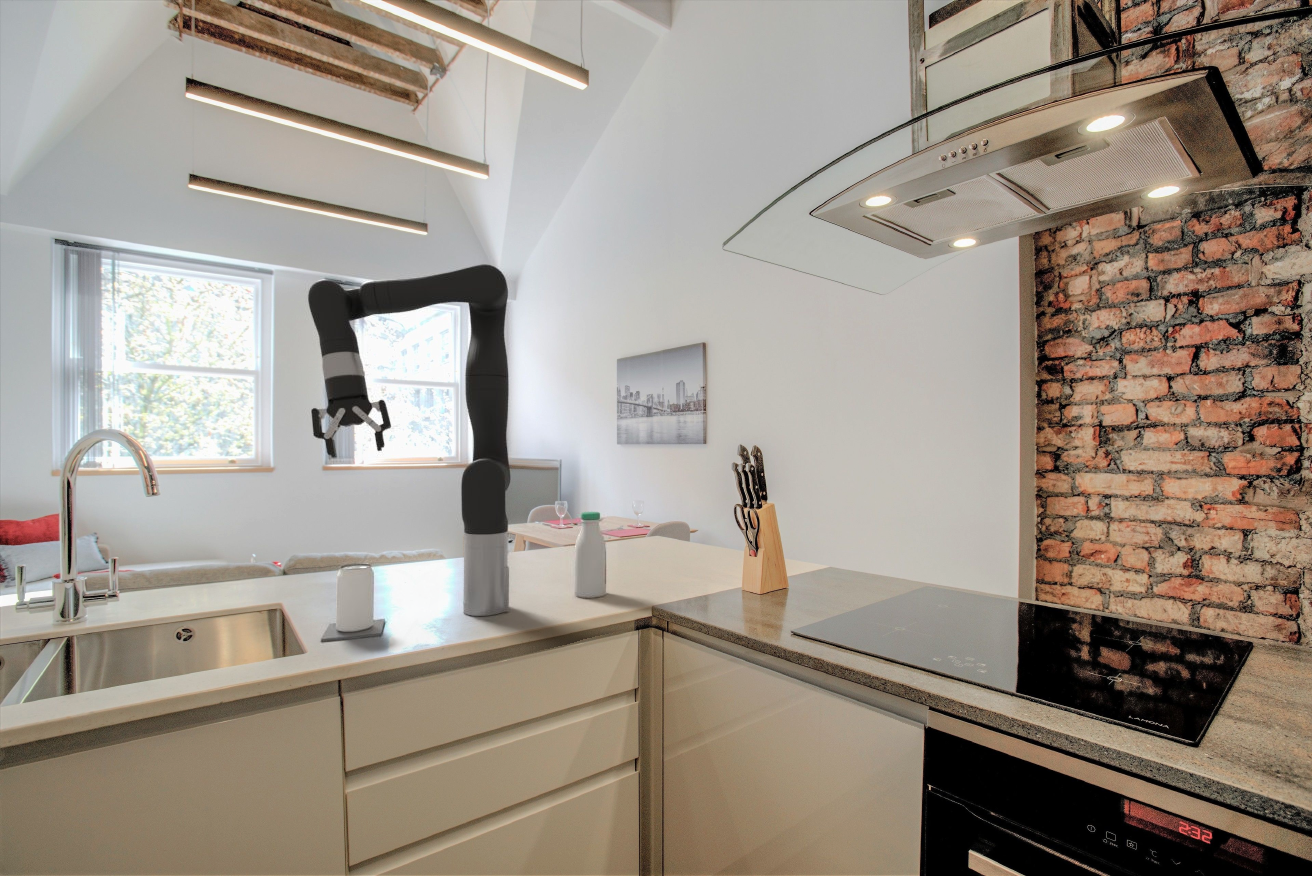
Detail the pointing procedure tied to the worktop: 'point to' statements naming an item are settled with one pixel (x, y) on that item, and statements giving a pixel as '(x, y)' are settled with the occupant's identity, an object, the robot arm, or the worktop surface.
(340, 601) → the can
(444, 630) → the worktop surface
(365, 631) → the coaster
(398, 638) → the worktop surface
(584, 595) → the milk bottle
